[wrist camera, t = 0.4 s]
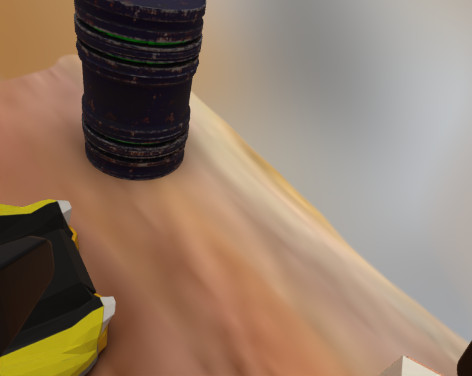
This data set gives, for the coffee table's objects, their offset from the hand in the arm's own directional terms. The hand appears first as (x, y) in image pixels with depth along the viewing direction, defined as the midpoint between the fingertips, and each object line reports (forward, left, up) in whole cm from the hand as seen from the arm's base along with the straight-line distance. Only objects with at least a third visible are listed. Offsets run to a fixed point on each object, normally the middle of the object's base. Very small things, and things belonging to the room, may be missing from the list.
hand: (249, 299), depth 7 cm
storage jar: (+25, +10, -16) cm, 31 cm away
